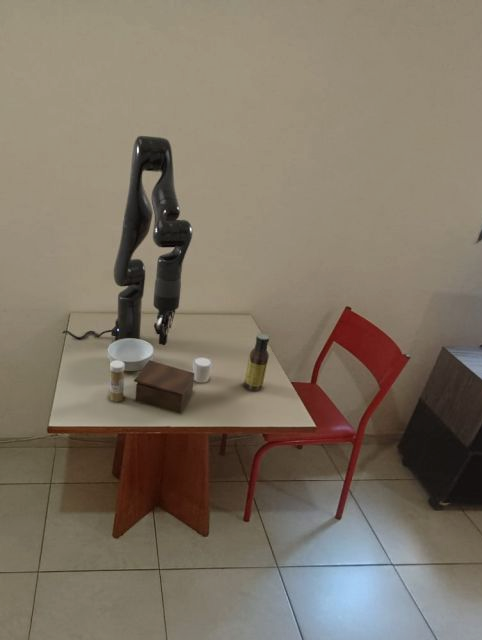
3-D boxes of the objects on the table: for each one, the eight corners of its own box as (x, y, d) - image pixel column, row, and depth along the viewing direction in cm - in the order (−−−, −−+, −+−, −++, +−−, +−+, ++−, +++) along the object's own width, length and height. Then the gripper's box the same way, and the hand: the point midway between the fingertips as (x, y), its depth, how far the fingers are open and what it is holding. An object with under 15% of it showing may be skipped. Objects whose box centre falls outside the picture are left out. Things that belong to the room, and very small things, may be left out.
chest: (135, 401, 146) (136, 384, 142) (150, 380, 156) (151, 364, 152) (180, 413, 141) (182, 396, 137) (192, 391, 151) (194, 375, 147)
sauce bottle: (252, 379, 158) (263, 329, 147) (265, 388, 154) (278, 337, 143) (239, 384, 156) (249, 334, 144) (252, 393, 151) (264, 342, 140)
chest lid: (134, 381, 142) (134, 379, 141) (149, 362, 152) (149, 360, 152) (182, 396, 137) (182, 394, 137) (194, 375, 147) (194, 373, 147)
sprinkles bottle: (107, 398, 146) (107, 363, 139) (116, 392, 149) (116, 358, 142) (117, 404, 144) (118, 369, 137) (126, 398, 147) (127, 363, 139)
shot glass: (211, 375, 160) (214, 358, 156) (208, 385, 155) (210, 368, 151) (193, 371, 162) (195, 355, 158) (188, 381, 156) (191, 364, 152)
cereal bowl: (120, 350, 173) (120, 333, 169) (159, 360, 167) (161, 344, 164) (99, 370, 161) (99, 353, 157) (140, 382, 155) (141, 365, 151)
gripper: (162, 281, 135) (158, 332, 144) (146, 297, 124) (143, 350, 134) (186, 286, 132) (180, 337, 142) (172, 302, 122) (167, 356, 132)
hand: (162, 343), depth 138 cm, fingers closed
